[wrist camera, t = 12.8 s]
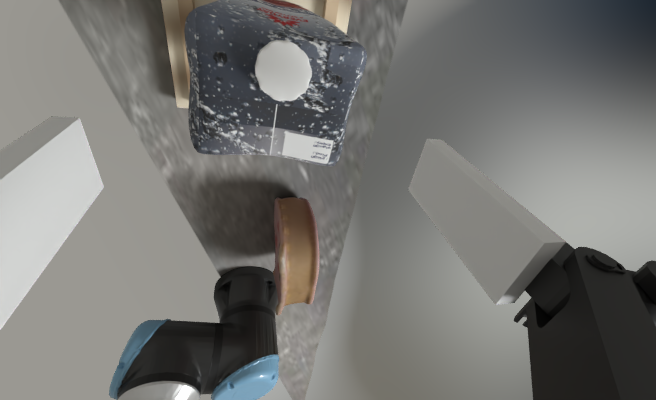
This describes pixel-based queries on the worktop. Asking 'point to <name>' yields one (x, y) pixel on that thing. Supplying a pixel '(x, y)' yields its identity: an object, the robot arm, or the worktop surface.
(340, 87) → the juice carton
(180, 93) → the square wooden tray
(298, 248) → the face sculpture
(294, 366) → the worktop surface
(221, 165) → the worktop surface
